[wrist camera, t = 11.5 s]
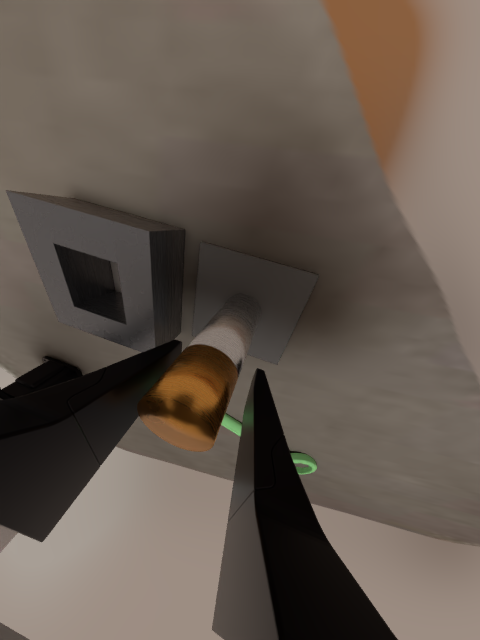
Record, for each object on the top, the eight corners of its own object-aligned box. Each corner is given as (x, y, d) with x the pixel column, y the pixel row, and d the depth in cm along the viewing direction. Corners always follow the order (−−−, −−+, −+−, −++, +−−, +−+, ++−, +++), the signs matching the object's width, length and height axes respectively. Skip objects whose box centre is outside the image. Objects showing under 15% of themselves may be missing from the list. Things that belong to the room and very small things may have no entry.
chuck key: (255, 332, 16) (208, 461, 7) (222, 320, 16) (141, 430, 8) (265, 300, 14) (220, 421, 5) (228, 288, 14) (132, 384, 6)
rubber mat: (277, 362, 17) (277, 364, 17) (193, 333, 18) (191, 335, 18) (318, 274, 12) (319, 275, 12) (202, 241, 13) (200, 242, 13)
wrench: (171, 362, 23) (161, 383, 26) (162, 373, 21) (152, 394, 24) (325, 460, 24) (299, 470, 27) (327, 477, 22) (299, 486, 25)
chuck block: (180, 332, 18) (155, 357, 15) (98, 304, 19) (58, 321, 16) (185, 229, 13) (149, 231, 10) (73, 198, 14) (5, 190, 11)
